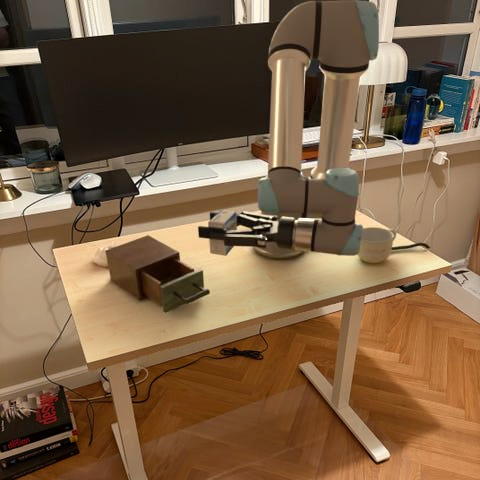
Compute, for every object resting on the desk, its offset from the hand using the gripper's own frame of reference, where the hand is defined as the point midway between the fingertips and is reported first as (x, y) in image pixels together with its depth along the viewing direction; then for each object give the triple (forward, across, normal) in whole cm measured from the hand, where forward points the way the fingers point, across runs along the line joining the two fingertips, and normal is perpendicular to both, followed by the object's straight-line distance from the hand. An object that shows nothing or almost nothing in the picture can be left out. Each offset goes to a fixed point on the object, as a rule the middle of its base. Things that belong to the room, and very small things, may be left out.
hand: (204, 224), depth 121 cm
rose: (+34, +9, -19) cm, 40 cm away
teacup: (-43, +30, -19) cm, 55 cm away
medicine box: (-5, 0, -6) cm, 8 cm away
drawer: (+6, -8, -18) cm, 20 cm away
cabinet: (+18, 0, -19) cm, 26 cm away
